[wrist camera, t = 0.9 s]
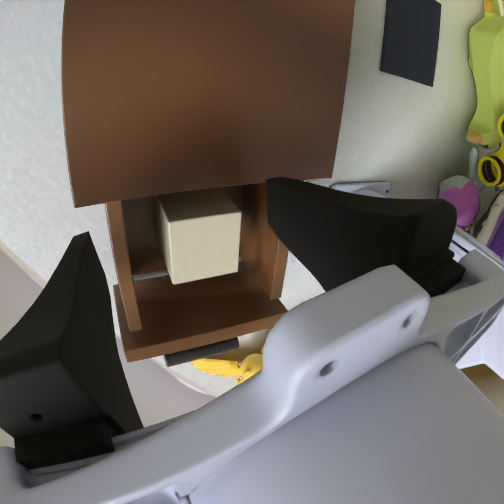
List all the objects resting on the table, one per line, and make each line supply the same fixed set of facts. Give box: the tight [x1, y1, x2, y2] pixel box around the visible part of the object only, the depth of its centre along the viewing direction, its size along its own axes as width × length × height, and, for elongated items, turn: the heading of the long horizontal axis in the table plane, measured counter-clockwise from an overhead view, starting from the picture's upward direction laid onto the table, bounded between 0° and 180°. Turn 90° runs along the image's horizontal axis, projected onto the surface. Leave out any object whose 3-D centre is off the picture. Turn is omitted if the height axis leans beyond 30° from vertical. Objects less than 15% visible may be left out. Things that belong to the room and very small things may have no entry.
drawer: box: [105, 183, 289, 367], centre depth 21 cm, size 19×11×7 cm, turn 175°
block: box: [154, 187, 242, 284], centre depth 19 cm, size 4×4×5 cm
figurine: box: [191, 346, 264, 386], centre depth 33 cm, size 12×12×9 cm
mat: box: [380, 0, 441, 87], centre depth 22 cm, size 10×8×1 cm
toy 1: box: [437, 147, 493, 231], centre depth 34 cm, size 13×6×15 cm
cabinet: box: [62, 0, 355, 208], centre depth 13 cm, size 16×13×9 cm
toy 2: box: [466, 0, 504, 149], centre depth 25 cm, size 6×17×20 cm
